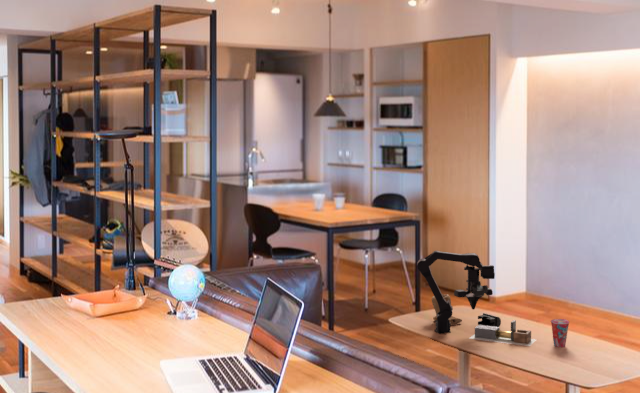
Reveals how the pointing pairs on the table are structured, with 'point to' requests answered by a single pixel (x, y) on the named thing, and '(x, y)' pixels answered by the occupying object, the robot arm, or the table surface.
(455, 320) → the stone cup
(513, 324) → the sliding bolt
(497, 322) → the end cap
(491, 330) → the sleeve
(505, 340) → the board
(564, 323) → the cup
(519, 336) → the socket
